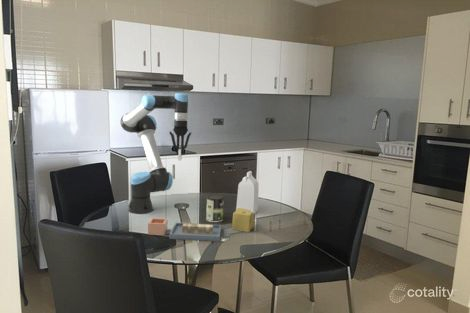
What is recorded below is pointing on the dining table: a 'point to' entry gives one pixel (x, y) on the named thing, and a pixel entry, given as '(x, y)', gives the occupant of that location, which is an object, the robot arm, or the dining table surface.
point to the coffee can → (214, 208)
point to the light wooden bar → (197, 228)
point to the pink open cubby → (157, 226)
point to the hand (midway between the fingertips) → (179, 160)
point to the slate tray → (178, 234)
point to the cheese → (243, 220)
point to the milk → (248, 193)
